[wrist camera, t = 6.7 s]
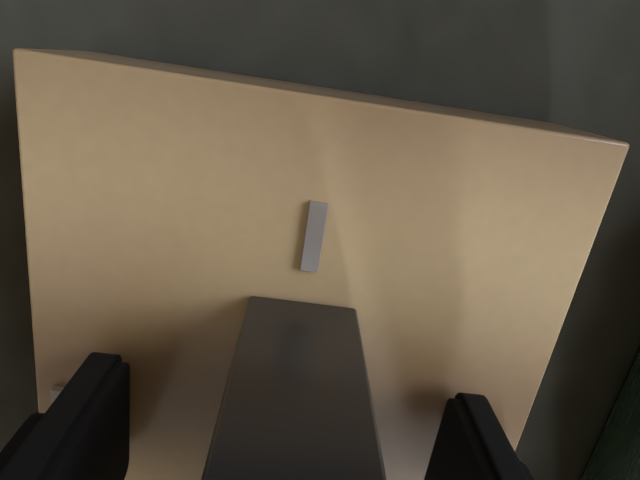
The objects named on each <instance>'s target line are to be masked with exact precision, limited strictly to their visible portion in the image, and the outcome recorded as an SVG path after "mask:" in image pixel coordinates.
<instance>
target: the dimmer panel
mask: <svg viewBox="0 0 640 480" xmlns="http://www.w3.org/2000/svg"><path fill="white" fill-rule="evenodd" d="M12 55H13V68H14V82H15V96H16V110H17V123H18V137H19V151H20V165H21V178H22V192H23V206H24V220H25V233H26V247H27V261H28V274H29V288H30V302H31V316H32V329H33V343H34V357H35V371H36V384H37V398H38V412H39V413H45V412H46V411H47V410H48V408H49V407H50V406H51V404H52V403H53V402H54V400H55V399H56V398H57V396H58V395H59V394H60V392H61V391H62V390H63V388H64V387H65V386H66V385H67V383H68V382H69V381H70V379H71V378H72V377H73V375H74V374H75V373H76V371H77V370H78V369H79V367H80V366H81V365H82V363H83V362H84V361H85V359H86V358H87V357H88V355H89V354H90V353H92V352H100V353H109V354H118V355H120V356H121V358H122V362H126V363H129V365H130V449H129V466H128V470H127V473H126V476H125V479H124V480H201V478H202V474H203V470H204V467H205V463H206V459H207V455H208V451H209V448H210V444H211V440H212V436H213V432H214V429H215V425H216V421H217V417H218V413H219V410H220V406H221V402H222V398H223V394H224V391H225V387H226V383H227V379H228V375H229V372H230V368H231V364H232V360H233V356H234V353H235V349H236V345H237V341H238V337H239V334H240V330H241V326H242V322H243V319H244V315H245V311H246V307H247V303H248V300H249V298H250V297H251V296H257V297H265V298H273V299H282V300H290V301H298V302H306V303H314V304H323V305H331V306H339V307H347V308H354V309H356V311H357V317H358V322H359V328H360V334H361V339H362V345H363V350H364V356H365V362H366V367H367V373H368V378H369V384H370V390H371V395H372V401H373V406H374V412H375V418H376V423H377V429H378V434H379V440H380V446H381V451H382V457H383V462H384V468H385V474H386V479H387V480H424V478H425V474H426V471H427V467H428V464H429V460H430V457H431V454H432V450H433V447H434V443H435V440H436V436H437V433H438V430H439V426H440V423H441V419H442V416H443V412H444V409H445V406H446V402H447V400H448V399H449V398H455V396H456V394H457V393H459V392H461V393H470V394H479V395H484V396H486V398H487V399H488V401H489V403H490V405H491V407H492V409H493V411H494V413H495V415H496V417H497V418H498V420H499V422H500V424H501V426H502V428H503V430H504V432H505V434H506V436H507V438H508V440H509V442H510V444H511V445H512V447H513V449H514V451H515V450H516V448H517V445H518V442H519V440H520V437H521V434H522V432H523V429H524V426H525V424H526V421H527V418H528V416H529V413H530V410H531V408H532V405H533V402H534V400H535V397H536V394H537V392H538V389H539V386H540V384H541V381H542V378H543V376H544V373H545V370H546V368H547V365H548V362H549V360H550V357H551V354H552V352H553V349H554V346H555V344H556V341H557V338H558V336H559V333H560V330H561V328H562V325H563V322H564V320H565V317H566V314H567V312H568V309H569V306H570V304H571V301H572V298H573V296H574V293H575V290H576V288H577V285H578V282H579V280H580V277H581V274H582V272H583V269H584V266H585V264H586V261H587V258H588V256H589V253H590V250H591V248H592V245H593V242H594V240H595V237H596V234H597V232H598V229H599V226H600V224H601V221H602V218H603V216H604V213H605V210H606V208H607V205H608V202H609V200H610V197H611V194H612V192H613V189H614V186H615V184H616V181H617V178H618V176H619V173H620V170H621V168H622V165H623V162H624V160H625V157H626V154H627V152H628V149H629V144H628V143H627V142H624V141H621V140H617V139H613V138H609V137H605V136H601V135H598V134H594V133H590V132H586V131H582V130H579V129H575V128H571V127H567V126H563V125H559V124H556V123H551V122H545V121H538V120H532V119H525V118H519V117H512V116H506V115H499V114H493V113H487V112H480V111H474V110H467V109H461V108H454V107H448V106H442V105H435V104H429V103H422V102H416V101H409V100H403V99H396V98H390V97H384V96H377V95H371V94H364V93H358V92H351V91H345V90H338V89H332V88H326V87H319V86H313V85H306V84H300V83H293V82H287V81H281V80H274V79H268V78H261V77H255V76H248V75H242V74H235V73H229V72H223V71H216V70H210V69H203V68H197V67H190V66H184V65H177V64H171V63H165V62H158V61H152V60H145V59H139V58H132V57H126V56H120V55H113V54H107V53H100V52H94V51H78V50H53V49H27V48H16V49H13V52H12Z"/></svg>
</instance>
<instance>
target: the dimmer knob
mask: <svg viewBox="0 0 640 480" xmlns="http://www.w3.org/2000/svg"><path fill="white" fill-rule="evenodd" d="M201 480H387V479H386V474H385V468H384V462H383V457H382V451H381V446H380V440H379V434H378V429H377V423H376V418H375V412H374V406H373V401H372V395H371V390H370V384H369V378H368V373H367V367H366V362H365V356H364V350H363V345H362V339H361V334H360V328H359V322H358V317H357V311H356V309H354V308H347V307H339V306H331V305H323V304H314V303H306V302H298V301H290V300H282V299H273V298H265V297H257V296H251V297H250V298H249V300H248V303H247V307H246V311H245V315H244V319H243V322H242V326H241V330H240V334H239V337H238V341H237V345H236V349H235V353H234V356H233V360H232V364H231V368H230V372H229V375H228V379H227V383H226V387H225V391H224V394H223V398H222V402H221V406H220V410H219V413H218V417H217V421H216V425H215V429H214V432H213V436H212V440H211V444H210V448H209V451H208V455H207V459H206V463H205V467H204V470H203V474H202V478H201Z"/></svg>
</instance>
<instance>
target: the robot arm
mask: <svg viewBox="0 0 640 480" xmlns="http://www.w3.org/2000/svg"><path fill="white" fill-rule="evenodd" d="M129 449H130V365H129V363H126V362H122V358H121V356H120V355H118V354H109V353H100V352H92V353H90V354H89V355H88V357H87V358H86V359H85V361H84V362H83V363H82V365H81V366H80V367H79V369H78V370H77V371H76V373H75V374H74V375H73V377H72V378H71V379H70V381H69V382H68V383H67V385H66V386H65V387H64V388H63V390H62V391H61V392H60V394H59V395H58V396H57V398H56V399H55V400H54V402H53V403H52V404H51V406H50V407H49V408H48V410H47V411H46V412H45V413H37V412H36V413H34V414H32V415H31V416H30V417H29V418H28V419H27V420H26V421H25V422H24V423H23V425H22V426H21V427H20V428H19V430H18V431H17V432H16V433H15V435H14V436H13V437H12V438H11V440H10V441H9V442H8V443H7V445H6V446H5V447H4V449H3V450H2V451H1V452H0V480H124V479H125V476H126V473H127V470H128V466H129ZM424 480H534V479H533V477H532V475H531V473H530V471H529V470H528V468H527V467H526V466H525V465H524V464H523V463H522V462H520V461H519V459H518V457H517V455H516V453H515V451H514V449H513V447H512V445H511V444H510V442H509V440H508V438H507V436H506V434H505V432H504V430H503V428H502V426H501V424H500V422H499V420H498V418H497V417H496V415H495V413H494V411H493V409H492V407H491V405H490V403H489V401H488V399H487V398H486V396H484V395H479V394H470V393H461V392H459V393H457V394H456V396H455V398H449V399H448V400H447V402H446V406H445V409H444V412H443V416H442V419H441V423H440V426H439V430H438V433H437V436H436V440H435V443H434V447H433V450H432V454H431V457H430V460H429V464H428V467H427V471H426V474H425V478H424Z"/></svg>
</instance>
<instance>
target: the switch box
mask: <svg viewBox="0 0 640 480" xmlns="http://www.w3.org/2000/svg"><path fill="white" fill-rule="evenodd" d="M581 480H640V350H639V352H638V354H637V356H636V358H635V361H634V363H633V365H632V367H631V370H630V372H629V374H628V376H627V378H626V381H625V383H624V385H623V387H622V390H621V392H620V394H619V396H618V399H617V401H616V403H615V405H614V407H613V410H612V412H611V414H610V416H609V419H608V421H607V423H606V425H605V427H604V430H603V432H602V434H601V436H600V439H599V441H598V443H597V445H596V447H595V450H594V452H593V454H592V456H591V459H590V461H589V463H588V465H587V467H586V470H585V472H584V474H583V476H582V479H581Z"/></svg>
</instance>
